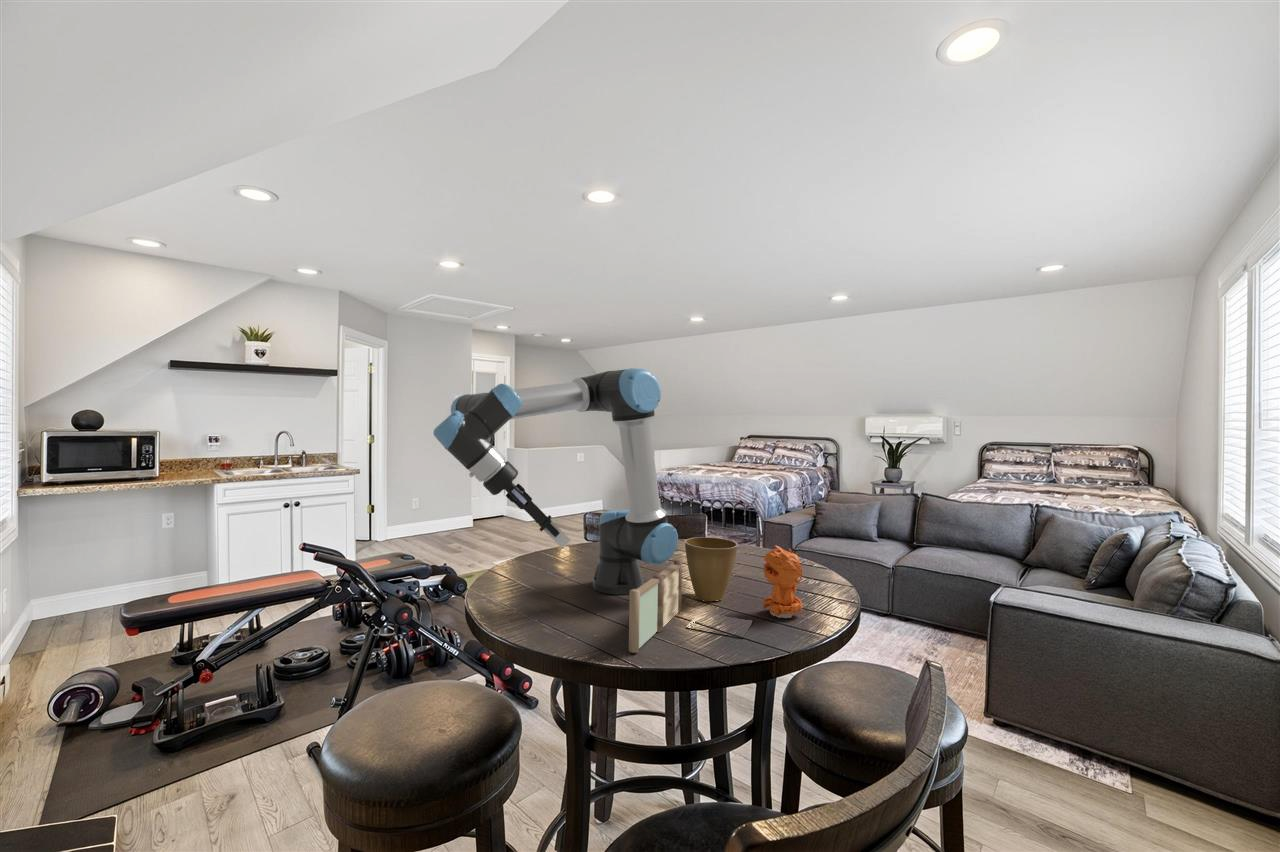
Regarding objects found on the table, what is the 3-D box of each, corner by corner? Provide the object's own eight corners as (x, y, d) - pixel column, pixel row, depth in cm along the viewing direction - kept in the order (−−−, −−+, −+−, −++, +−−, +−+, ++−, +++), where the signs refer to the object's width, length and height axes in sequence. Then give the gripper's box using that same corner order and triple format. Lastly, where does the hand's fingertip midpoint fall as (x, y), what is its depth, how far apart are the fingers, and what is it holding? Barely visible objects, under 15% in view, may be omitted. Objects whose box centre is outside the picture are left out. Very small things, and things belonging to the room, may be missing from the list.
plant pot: (721, 611, 144) (722, 551, 143) (673, 599, 152) (674, 542, 152) (745, 596, 156) (746, 541, 155) (700, 586, 164) (701, 534, 164)
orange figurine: (771, 604, 150) (772, 539, 149) (809, 613, 143) (811, 545, 142) (752, 615, 141) (753, 546, 141) (792, 625, 134) (793, 553, 134)
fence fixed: (673, 610, 144) (674, 559, 144) (683, 611, 143) (684, 560, 143) (650, 631, 129) (651, 575, 129) (660, 633, 128) (661, 576, 128)
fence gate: (650, 630, 128) (651, 575, 128) (659, 631, 128) (660, 576, 127) (627, 651, 116) (628, 591, 116) (636, 653, 116) (637, 592, 115)
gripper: (479, 480, 125) (548, 549, 131) (483, 487, 113) (560, 562, 118) (503, 457, 127) (571, 526, 133) (510, 461, 114) (584, 537, 120)
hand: (565, 543), depth 125 cm, fingers closed
